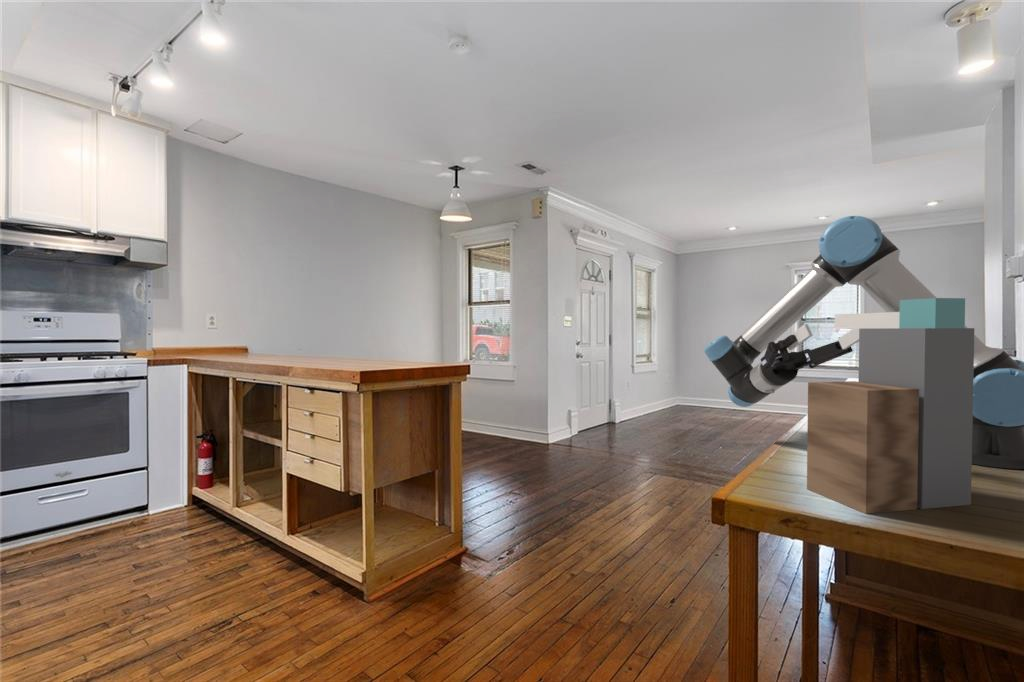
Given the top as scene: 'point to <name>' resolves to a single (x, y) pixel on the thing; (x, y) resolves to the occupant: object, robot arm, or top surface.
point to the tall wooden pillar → (863, 445)
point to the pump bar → (910, 315)
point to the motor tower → (930, 401)
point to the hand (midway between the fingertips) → (837, 329)
